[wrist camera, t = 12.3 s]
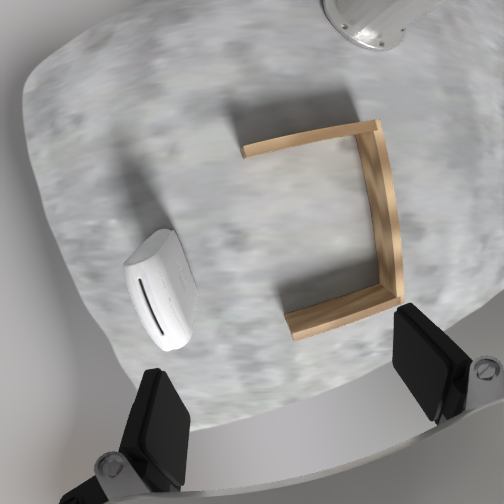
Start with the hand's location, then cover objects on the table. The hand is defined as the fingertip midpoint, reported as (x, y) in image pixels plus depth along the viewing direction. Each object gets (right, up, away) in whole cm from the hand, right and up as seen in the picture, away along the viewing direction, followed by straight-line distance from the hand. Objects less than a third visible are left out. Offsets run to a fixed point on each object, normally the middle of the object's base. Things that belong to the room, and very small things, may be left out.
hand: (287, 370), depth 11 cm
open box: (+8, +8, +25) cm, 28 cm away
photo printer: (-11, +3, +26) cm, 28 cm away
